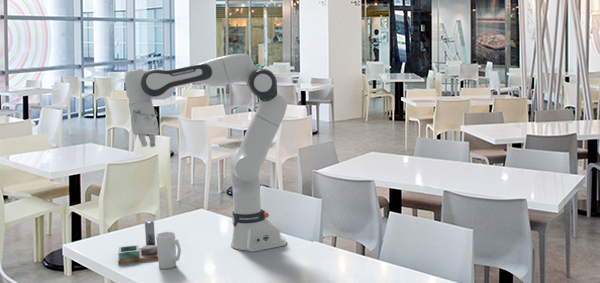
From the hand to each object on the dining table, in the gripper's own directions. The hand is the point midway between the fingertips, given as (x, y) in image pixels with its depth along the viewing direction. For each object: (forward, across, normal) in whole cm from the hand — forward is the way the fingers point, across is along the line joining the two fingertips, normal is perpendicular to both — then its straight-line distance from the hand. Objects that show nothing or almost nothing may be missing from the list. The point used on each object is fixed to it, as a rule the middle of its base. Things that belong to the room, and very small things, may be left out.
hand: (149, 146), depth 218 cm
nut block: (+41, +2, +13) cm, 43 cm away
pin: (+38, +15, +12) cm, 43 cm away
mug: (+46, -7, -2) cm, 46 cm away
